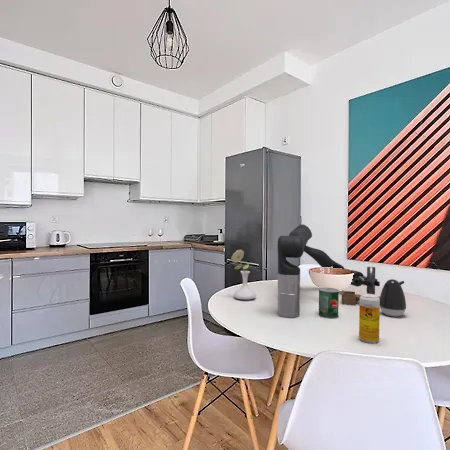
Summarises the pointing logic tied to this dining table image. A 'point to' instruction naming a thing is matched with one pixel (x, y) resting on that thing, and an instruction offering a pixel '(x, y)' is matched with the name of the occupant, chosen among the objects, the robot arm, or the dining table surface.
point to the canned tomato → (328, 303)
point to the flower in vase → (244, 291)
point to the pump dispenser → (393, 298)
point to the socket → (348, 298)
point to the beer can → (369, 318)
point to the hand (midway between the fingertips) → (374, 284)
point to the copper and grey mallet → (372, 279)
